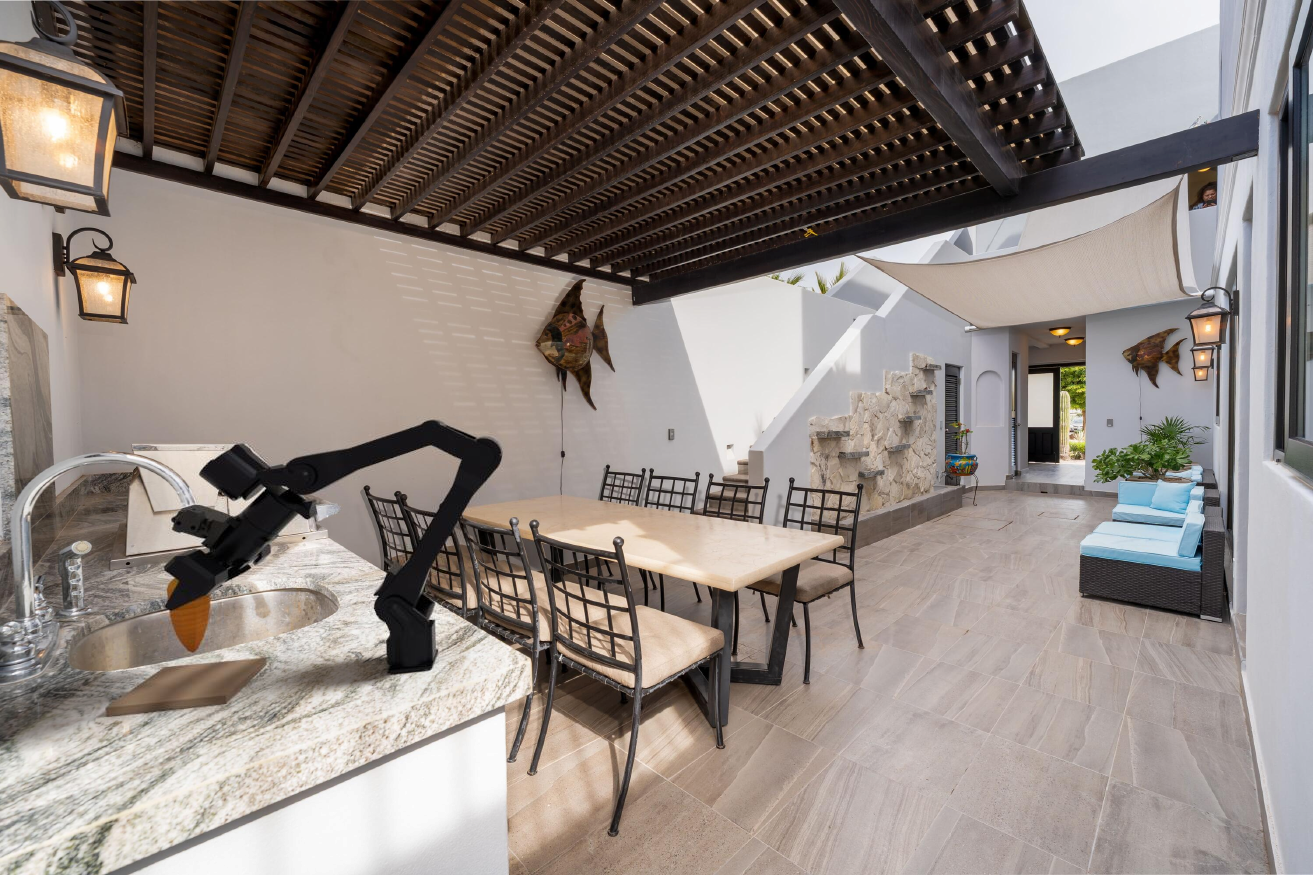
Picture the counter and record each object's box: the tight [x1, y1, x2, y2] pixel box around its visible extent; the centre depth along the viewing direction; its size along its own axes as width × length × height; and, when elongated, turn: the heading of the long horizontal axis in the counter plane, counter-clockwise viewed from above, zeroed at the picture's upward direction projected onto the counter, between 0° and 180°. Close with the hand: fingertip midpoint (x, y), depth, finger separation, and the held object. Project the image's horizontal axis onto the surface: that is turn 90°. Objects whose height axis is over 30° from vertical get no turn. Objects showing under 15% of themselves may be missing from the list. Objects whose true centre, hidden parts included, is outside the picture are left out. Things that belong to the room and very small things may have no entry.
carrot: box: [166, 548, 211, 654], centre depth 81 cm, size 5×5×15 cm
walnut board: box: [105, 657, 268, 717], centre depth 81 cm, size 14×12×1 cm
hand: (179, 602), depth 80 cm, fingers closed on carrot, 5 cm apart
